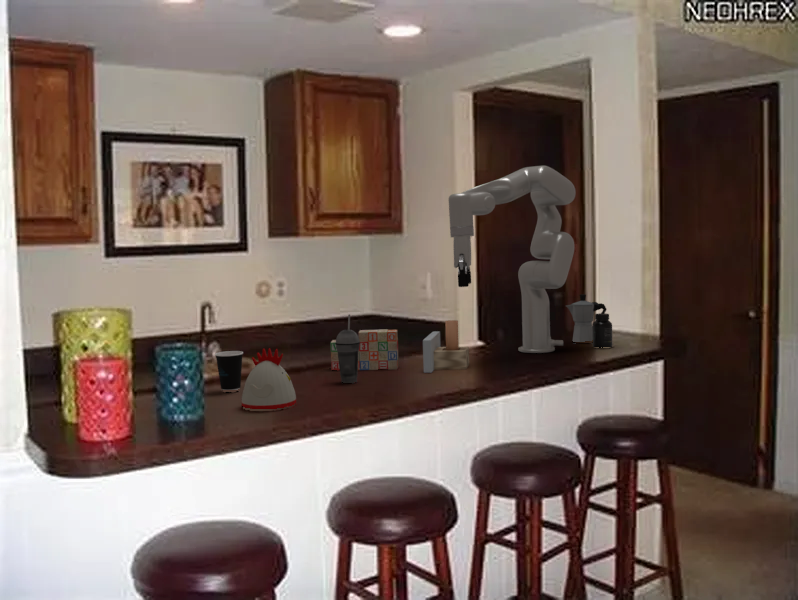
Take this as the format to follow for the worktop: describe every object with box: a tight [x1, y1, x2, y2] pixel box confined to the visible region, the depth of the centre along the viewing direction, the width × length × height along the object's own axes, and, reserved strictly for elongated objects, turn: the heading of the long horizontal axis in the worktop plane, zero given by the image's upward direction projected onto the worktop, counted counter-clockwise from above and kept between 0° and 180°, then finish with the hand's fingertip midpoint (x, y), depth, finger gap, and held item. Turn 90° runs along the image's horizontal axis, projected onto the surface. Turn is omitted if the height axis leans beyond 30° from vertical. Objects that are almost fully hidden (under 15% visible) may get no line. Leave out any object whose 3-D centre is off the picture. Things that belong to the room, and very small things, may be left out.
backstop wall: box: [422, 330, 441, 374], centre depth 266 cm, size 2×22×10 cm, turn 170°
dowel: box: [445, 319, 460, 350], centre depth 264 cm, size 4×4×14 cm
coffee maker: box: [565, 294, 607, 342], centre depth 309 cm, size 15×9×18 cm, turn 80°
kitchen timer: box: [241, 347, 297, 409], centre depth 213 cm, size 14×14×15 cm
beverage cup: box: [335, 314, 360, 384], centre depth 243 cm, size 7×7×20 cm
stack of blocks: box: [329, 328, 399, 371], centre depth 267 cm, size 21×6×12 cm, turn 87°
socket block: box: [433, 346, 470, 371], centre depth 265 cm, size 10×10×6 cm
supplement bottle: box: [592, 312, 613, 348], centre depth 295 cm, size 7×7×12 cm
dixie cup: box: [214, 350, 244, 391], centre depth 235 cm, size 8×8×11 cm
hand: (464, 285), depth 269 cm, fingers open, 9 cm apart
